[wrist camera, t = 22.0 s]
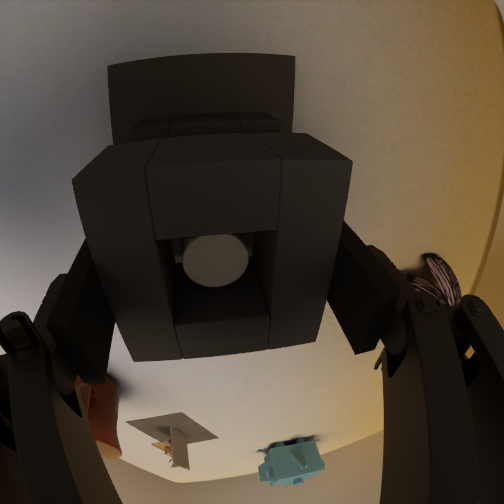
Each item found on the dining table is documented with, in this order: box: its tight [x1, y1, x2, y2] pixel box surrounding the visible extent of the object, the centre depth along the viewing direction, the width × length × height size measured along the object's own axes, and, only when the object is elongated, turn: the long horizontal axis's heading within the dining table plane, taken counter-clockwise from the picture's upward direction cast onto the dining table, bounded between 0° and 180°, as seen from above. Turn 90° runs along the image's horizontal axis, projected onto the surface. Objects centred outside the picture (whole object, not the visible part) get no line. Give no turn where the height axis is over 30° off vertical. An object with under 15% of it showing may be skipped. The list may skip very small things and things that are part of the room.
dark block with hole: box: [128, 112, 281, 257], centre depth 17 cm, size 8×8×4 cm
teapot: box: [258, 438, 325, 486], centre depth 55 cm, size 16×18×11 cm
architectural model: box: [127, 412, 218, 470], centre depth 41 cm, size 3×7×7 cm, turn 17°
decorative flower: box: [407, 253, 461, 306], centre depth 30 cm, size 14×12×15 cm
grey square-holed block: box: [72, 133, 353, 362], centre depth 11 cm, size 8×8×4 cm
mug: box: [75, 375, 122, 459], centre depth 27 cm, size 12×9×10 cm
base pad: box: [108, 53, 295, 287], centre depth 15 cm, size 16×12×12 cm
